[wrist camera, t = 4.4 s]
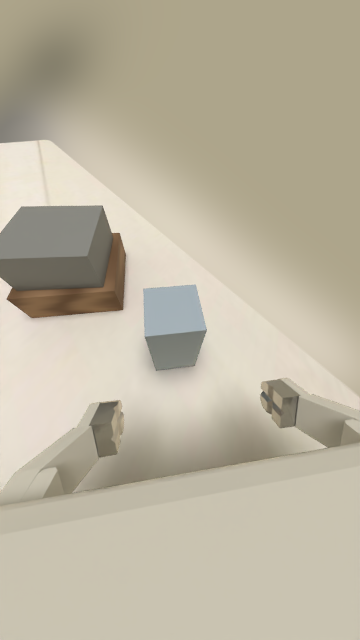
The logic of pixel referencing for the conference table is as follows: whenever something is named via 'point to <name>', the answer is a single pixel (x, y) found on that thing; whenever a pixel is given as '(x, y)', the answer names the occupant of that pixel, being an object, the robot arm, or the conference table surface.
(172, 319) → the slate blue block
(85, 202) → the conference table surface
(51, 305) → the walnut base block
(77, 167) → the conference table surface
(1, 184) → the conference table surface
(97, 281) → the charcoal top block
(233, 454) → the conference table surface
